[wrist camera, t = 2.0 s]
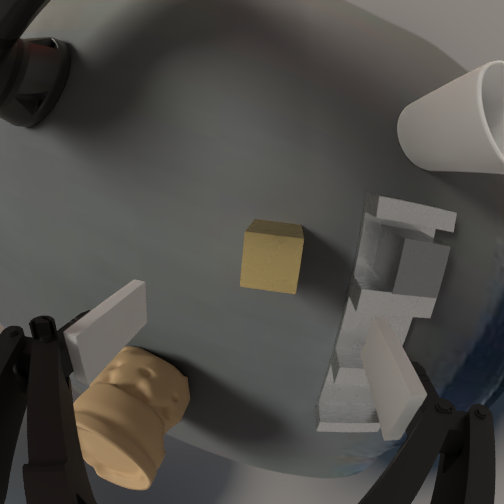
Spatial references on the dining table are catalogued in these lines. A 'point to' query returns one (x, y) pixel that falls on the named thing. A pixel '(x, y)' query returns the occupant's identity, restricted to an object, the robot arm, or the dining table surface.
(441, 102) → the cup
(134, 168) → the dining table surface
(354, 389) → the white slotted rack
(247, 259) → the tan wooden cube
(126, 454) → the container
